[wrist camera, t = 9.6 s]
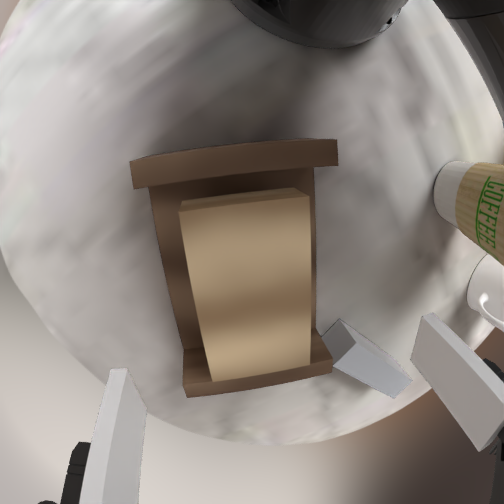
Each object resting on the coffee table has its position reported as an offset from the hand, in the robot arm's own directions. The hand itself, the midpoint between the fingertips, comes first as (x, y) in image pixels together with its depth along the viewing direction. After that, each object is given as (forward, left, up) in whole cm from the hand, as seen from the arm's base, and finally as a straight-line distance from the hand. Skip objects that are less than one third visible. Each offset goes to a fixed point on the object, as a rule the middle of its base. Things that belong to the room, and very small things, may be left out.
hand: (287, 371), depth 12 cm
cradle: (0, 0, -14) cm, 13 cm away
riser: (+13, +12, -14) cm, 22 cm away
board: (0, 0, -10) cm, 9 cm away
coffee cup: (-4, +22, -14) cm, 26 cm away
